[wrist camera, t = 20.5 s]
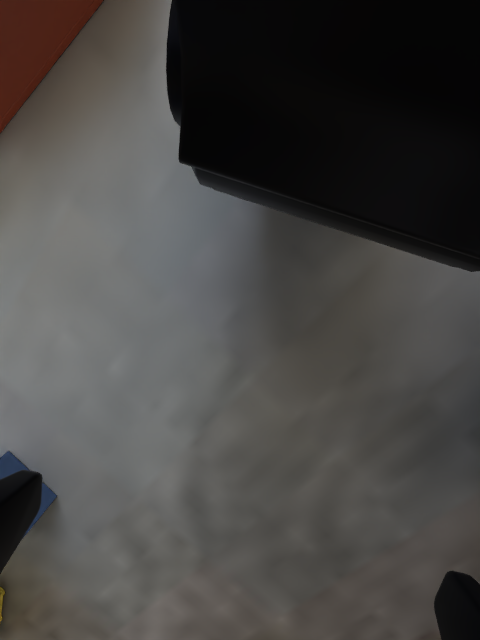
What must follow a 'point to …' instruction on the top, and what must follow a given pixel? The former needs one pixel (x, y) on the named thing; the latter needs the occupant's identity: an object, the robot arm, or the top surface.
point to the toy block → (1, 600)
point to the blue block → (12, 465)
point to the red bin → (34, 44)
